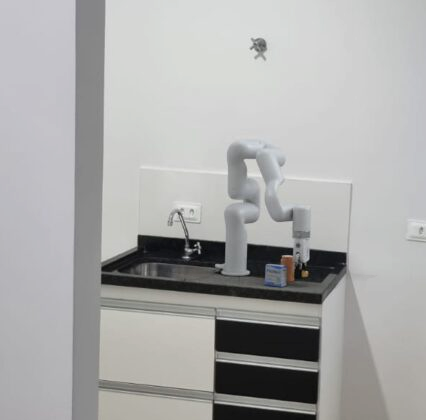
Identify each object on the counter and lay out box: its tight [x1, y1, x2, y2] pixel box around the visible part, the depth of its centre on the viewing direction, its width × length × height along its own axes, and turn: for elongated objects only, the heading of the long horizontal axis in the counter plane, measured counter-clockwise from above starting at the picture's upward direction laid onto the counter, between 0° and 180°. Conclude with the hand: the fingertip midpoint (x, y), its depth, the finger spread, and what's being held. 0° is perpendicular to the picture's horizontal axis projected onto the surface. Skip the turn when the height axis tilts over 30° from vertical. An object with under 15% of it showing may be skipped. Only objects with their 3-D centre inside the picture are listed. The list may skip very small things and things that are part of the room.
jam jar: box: [280, 254, 295, 283], centre depth 371 cm, size 6×6×10 cm
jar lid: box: [292, 270, 309, 278], centre depth 361 cm, size 7×7×2 cm
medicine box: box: [264, 263, 287, 288], centre depth 358 cm, size 8×4×9 cm, turn 66°
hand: (300, 276), depth 361 cm, fingers closed on jar lid, 6 cm apart
